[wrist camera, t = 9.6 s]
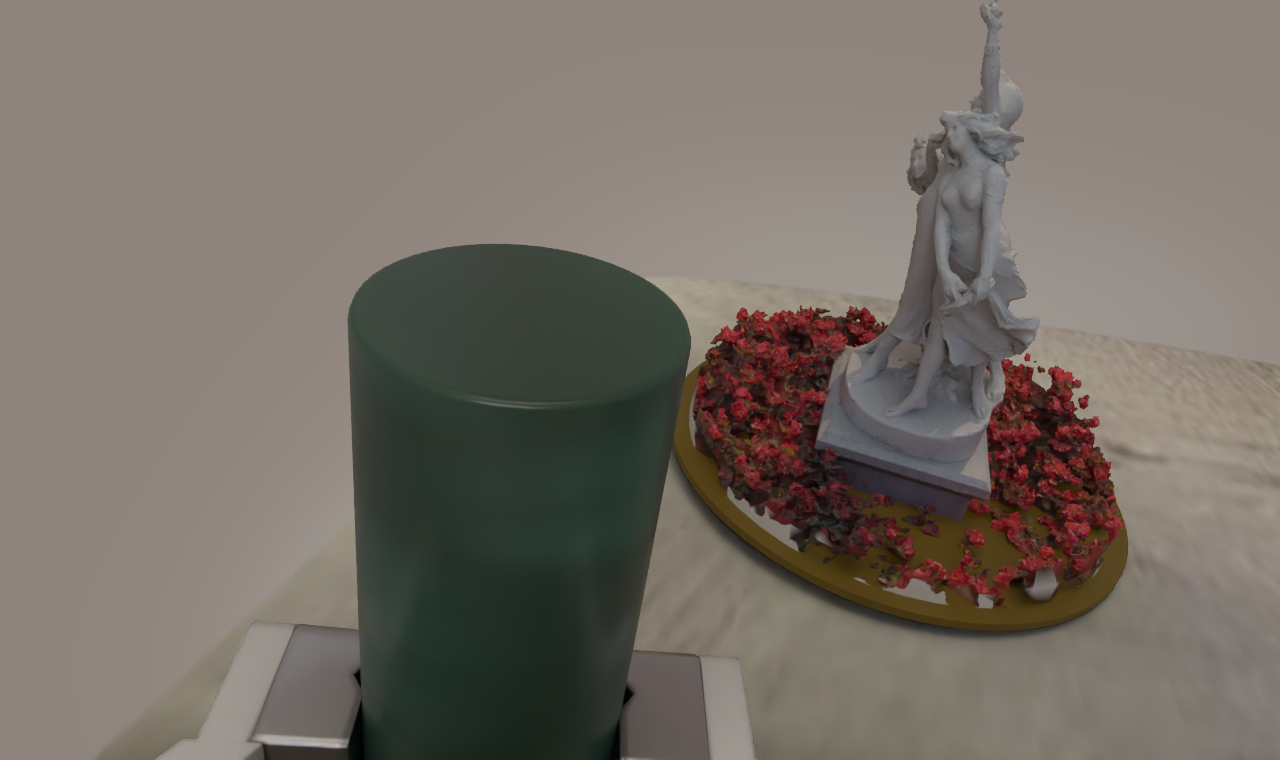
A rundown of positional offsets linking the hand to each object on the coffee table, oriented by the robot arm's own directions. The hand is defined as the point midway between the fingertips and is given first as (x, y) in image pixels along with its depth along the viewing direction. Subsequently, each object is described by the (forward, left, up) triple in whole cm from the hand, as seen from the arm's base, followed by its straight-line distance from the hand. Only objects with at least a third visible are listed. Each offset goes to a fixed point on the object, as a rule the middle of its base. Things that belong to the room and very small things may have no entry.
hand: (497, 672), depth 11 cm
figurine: (-18, -9, -8) cm, 22 cm away
